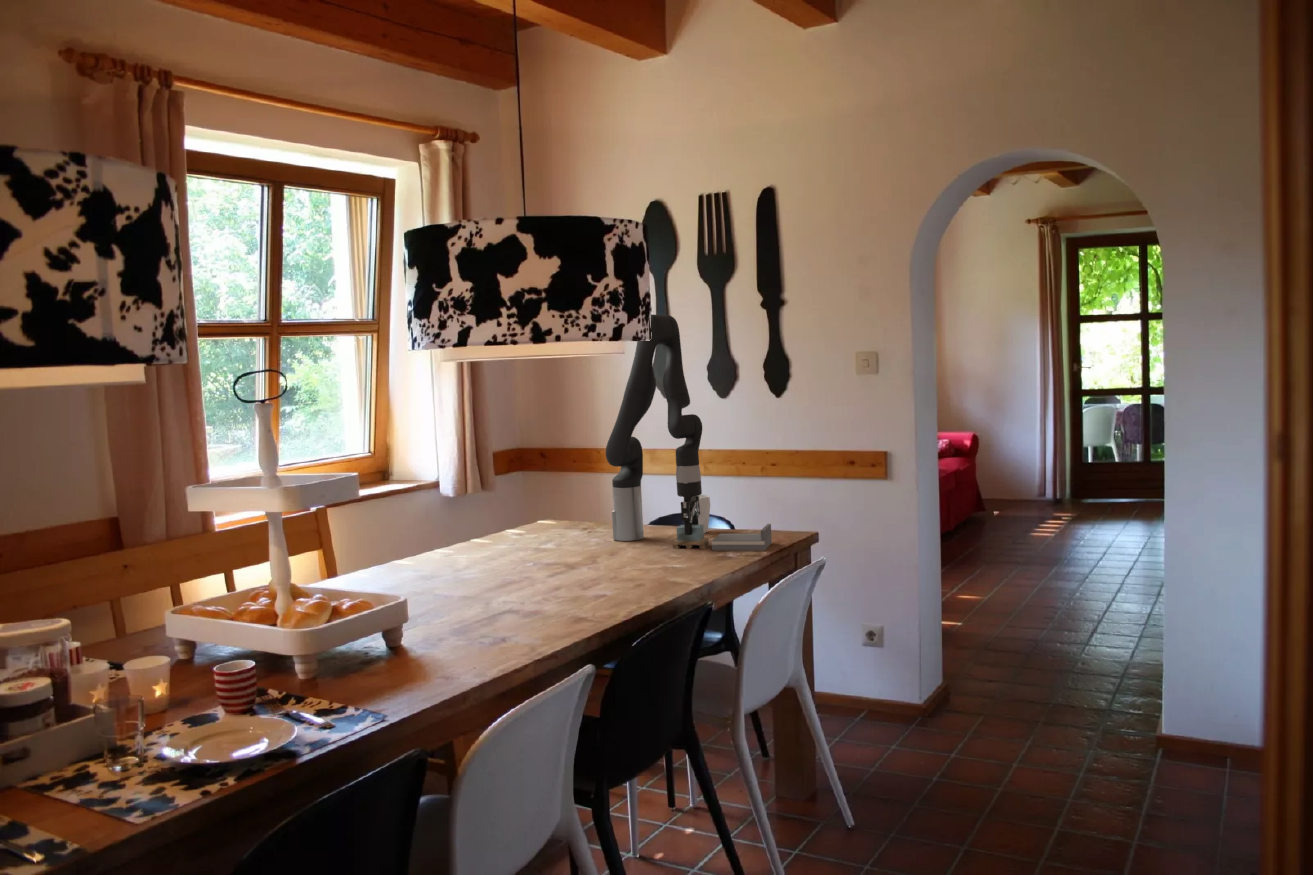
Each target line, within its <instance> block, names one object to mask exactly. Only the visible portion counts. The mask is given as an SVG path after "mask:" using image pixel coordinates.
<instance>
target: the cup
mask: <svg viewBox="0 0 1313 875" xmlns="http://www.w3.org/2000/svg"><path fill="white" fill-rule="evenodd" d="M682 502H684V497H682ZM699 505H700V515H699V518H698V522H699V525H703V531H704V534H707V533H708V532H709V524H710V522H709V521H710V512H711V499H710V495H708V494H701V495H699ZM686 518H688V516H687V517H686ZM706 532H707V533H706Z"/></svg>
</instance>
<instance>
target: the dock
mask: <svg viewBox="0 0 1313 875" xmlns="http://www.w3.org/2000/svg"><path fill="white" fill-rule="evenodd" d="M772 538H773V537H772V524H771V523H767V524H766V525H765V526H763V527H762V529H760V533H719V534H718V535H717V536H716V537H714V538H712V540H711V551H719V552H720V551H730V552H731V551H732V552H733V551H734V552H735V551H739V552H740V551H750V552H751V551H754V552H755V551H756V552H757V551H758V552H761V551H766V550H767V549H768V548H769V547H770V546H771V545H772V540H773V539H772ZM770 544H771V545H770ZM769 545H770V546H769ZM767 547H768V548H767Z"/></svg>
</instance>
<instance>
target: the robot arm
mask: <svg viewBox="0 0 1313 875" xmlns="http://www.w3.org/2000/svg"><path fill="white" fill-rule="evenodd" d="M650 315H651V332H652V339H651V340H650V341H636V345H635V352H634V355H633V361H632V366H631V369H630V372H629V376H628V379H627V383H626V384H625V385H626V386H625V389H624V392H623V396H622V398H623V399H622V401H621V404H620V407H619V411H618V414H617V418H616V421H615V423H614V426H613V429H612V431H611V433H610V436H609V439H608V440H607V444H606V447H605V458H606V460H607V463H608V464H609V465H610V466H612V467H620V470H619V472H618V474H616V475H615V476H614V477H613V478H612V500H613V502H612V503H613V510H612V511H611V519H612V520H611V522H612V523H611V524H612V539H613V541H618V542H619V541H620V542H621V541H622V542H625V541H626V542H627V541H628V542H630V541H639V540H642V539H644V519H643V517H644V516H643V498H642V479H643V474H644V468H643V467H644V462H643V460H644V454H643V447H642V444H641V442H640V440H639V439H638V438H637V437H635V436H632V435H633V433H634V430H635V428H636V427H637V425H638V424H639V423H640V421H641V420H642V419H643V418H644V416H645V415H646V414H647V412H648V411H649V409H650V408H651V405H652V403H653V400H654V396H655V393H656V388H657V379H656V374H655V371H654V366H653V360H654V355H655V351H656V348H657V345H659V346H660V345H662V346H663V349H664V352H665V357H666V358H665V360H666V361H665V368H664V373H663V376H662V377H663V379H662V387H663V391H664V394H665V398H666V403H667V430H668V432H669V434H670V436H672V437H673V438H674V439H675V440H678V439H679V440H680V439H685V440H684V444H682V445H680V446H678V447H676V449H675V466H676V467H675V468H676V470H675V477H676V478H675V479H676V492H677V493H676V495H677V496H678V497H682V498H683V497H684V502H683V501H681V502H680V516H681V517H680V518H681V519H680V520H681V522H682V523H683V525H684V527H685V535H692V525H699V522H698V518H699V515H700V505H699V495H703V494H702V493H703V491H702V489H703V488H702V476H701V467H700V458H699V457H700V456H699V450H700V445H701V439H702V435H703V423H702V421H701V418H700V417H699V416H698V415H697V414H694V413H692V414H683V413H682V411H683V409H685V408H687V407H689V405H690V404H691V398H690V393H689V390H688V385H687V381H686V378H685V372H684V367H683V366H684V365H683V356H682V344H681V335H680V333H681V332H680V328H679V324H678V321H677V320H676V318H675V317H673V316H672V315H668V314H650ZM687 516H688V518H686V517H687Z"/></svg>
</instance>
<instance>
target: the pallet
mask: <svg viewBox="0 0 1313 875" xmlns="http://www.w3.org/2000/svg"><path fill="white" fill-rule="evenodd" d="M697 545H698V546H699V549H700V550H701V549H702V550H704V549H706V548H707V547H709V546H710V539H709V537H705V533H704V531H703V525H692V535H685V527H684V524H680V525H679V526H678V527H676V538H674V539H673V540H672V549H674V550H675V549H679V548H680V547H682V546H685V549H687V550H688V549H689V550H690V549H693V548H694V547H695V546H697Z"/></svg>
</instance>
